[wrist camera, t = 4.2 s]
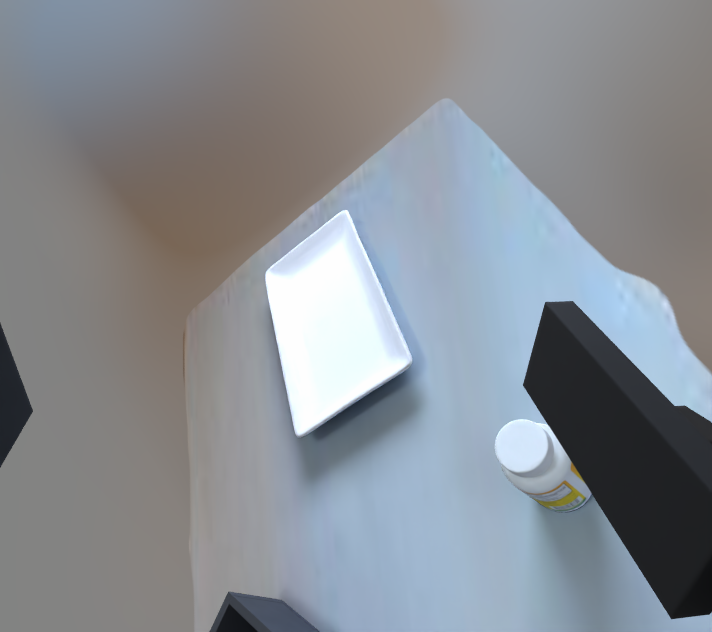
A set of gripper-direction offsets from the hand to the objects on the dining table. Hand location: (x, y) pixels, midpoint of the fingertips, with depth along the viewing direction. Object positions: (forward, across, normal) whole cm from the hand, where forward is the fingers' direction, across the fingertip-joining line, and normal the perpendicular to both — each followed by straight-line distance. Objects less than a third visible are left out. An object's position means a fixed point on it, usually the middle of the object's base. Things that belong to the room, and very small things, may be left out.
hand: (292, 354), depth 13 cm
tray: (+49, -7, +30) cm, 58 cm away
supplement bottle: (+17, -23, +26) cm, 39 cm away
